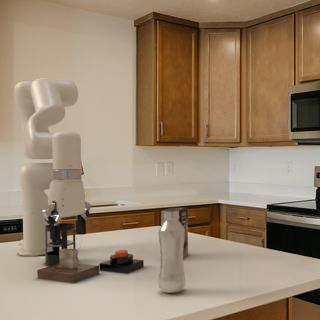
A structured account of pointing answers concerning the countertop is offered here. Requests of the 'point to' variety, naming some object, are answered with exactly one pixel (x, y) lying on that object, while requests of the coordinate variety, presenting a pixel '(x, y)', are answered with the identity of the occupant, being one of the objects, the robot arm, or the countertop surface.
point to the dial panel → (68, 273)
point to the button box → (121, 264)
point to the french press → (58, 243)
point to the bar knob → (68, 258)
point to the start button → (121, 253)
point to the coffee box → (184, 221)
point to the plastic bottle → (171, 253)
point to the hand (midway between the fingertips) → (68, 236)
